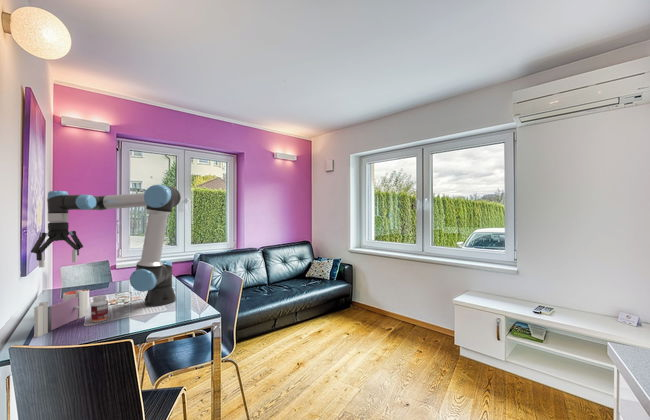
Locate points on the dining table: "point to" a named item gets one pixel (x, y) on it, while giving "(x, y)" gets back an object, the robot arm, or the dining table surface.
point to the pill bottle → (99, 309)
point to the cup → (73, 294)
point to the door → (62, 313)
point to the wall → (42, 313)
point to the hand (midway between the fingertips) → (58, 264)
